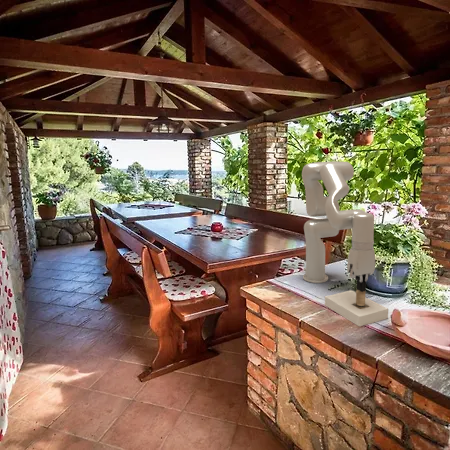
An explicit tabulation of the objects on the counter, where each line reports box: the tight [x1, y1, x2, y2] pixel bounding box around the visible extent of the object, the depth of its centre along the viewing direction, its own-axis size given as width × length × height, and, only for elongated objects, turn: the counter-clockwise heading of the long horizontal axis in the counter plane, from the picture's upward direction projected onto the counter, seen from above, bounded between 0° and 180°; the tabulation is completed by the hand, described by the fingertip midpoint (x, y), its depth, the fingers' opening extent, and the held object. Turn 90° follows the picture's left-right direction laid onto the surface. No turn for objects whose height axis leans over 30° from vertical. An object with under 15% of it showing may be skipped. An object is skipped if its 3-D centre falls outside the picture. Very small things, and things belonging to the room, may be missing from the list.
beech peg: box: [355, 289, 367, 309], centre depth 128 cm, size 4×4×10 cm
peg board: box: [324, 289, 389, 328], centre depth 131 cm, size 20×14×4 cm
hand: (361, 290), depth 126 cm, fingers closed
